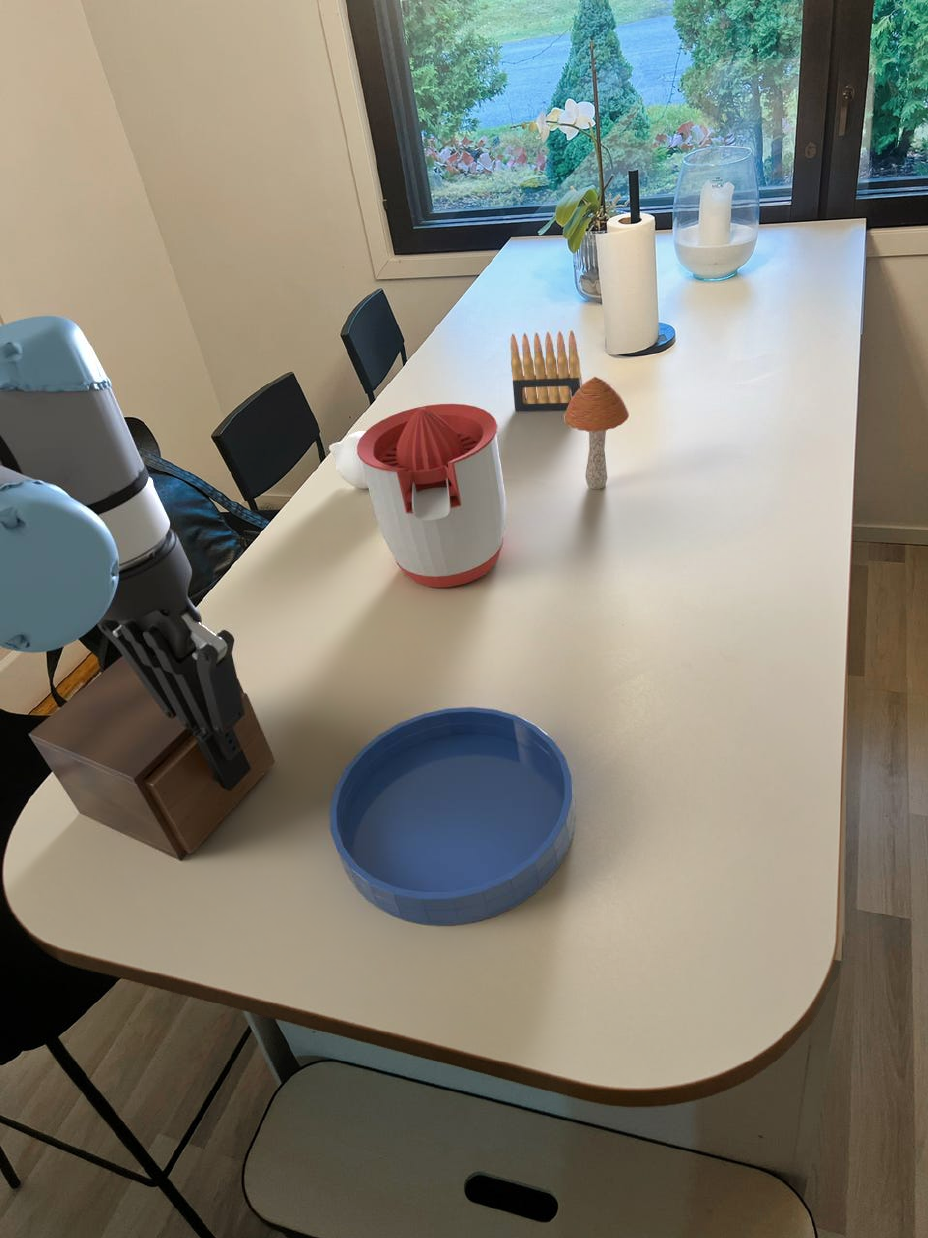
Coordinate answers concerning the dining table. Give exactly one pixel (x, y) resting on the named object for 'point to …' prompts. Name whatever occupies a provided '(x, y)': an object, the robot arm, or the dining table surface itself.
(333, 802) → the bowl
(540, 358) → the ammunition clip
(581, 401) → the mushroom
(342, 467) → the cat figurine
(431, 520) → the citrus juicer
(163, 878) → the dining table surface
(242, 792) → the drawer
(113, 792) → the cabinet
